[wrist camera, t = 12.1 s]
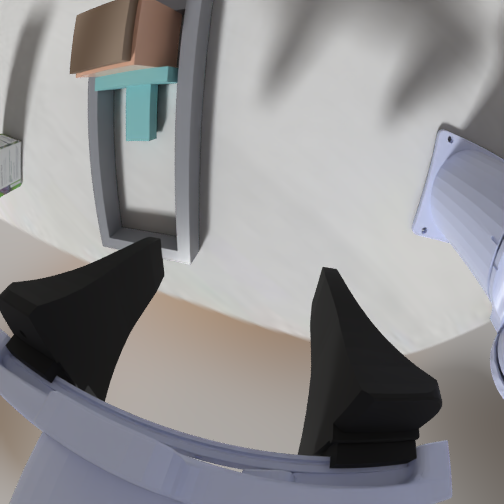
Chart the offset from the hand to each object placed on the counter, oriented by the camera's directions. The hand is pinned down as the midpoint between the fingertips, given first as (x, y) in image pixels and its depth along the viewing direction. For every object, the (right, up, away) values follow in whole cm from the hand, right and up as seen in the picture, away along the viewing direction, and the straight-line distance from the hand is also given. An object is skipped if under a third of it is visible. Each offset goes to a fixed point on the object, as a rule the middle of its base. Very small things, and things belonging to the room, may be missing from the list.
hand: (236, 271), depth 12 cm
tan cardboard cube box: (-6, +15, +2) cm, 17 cm away
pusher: (-7, +11, +4) cm, 14 cm away
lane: (-7, +10, +5) cm, 13 cm away
